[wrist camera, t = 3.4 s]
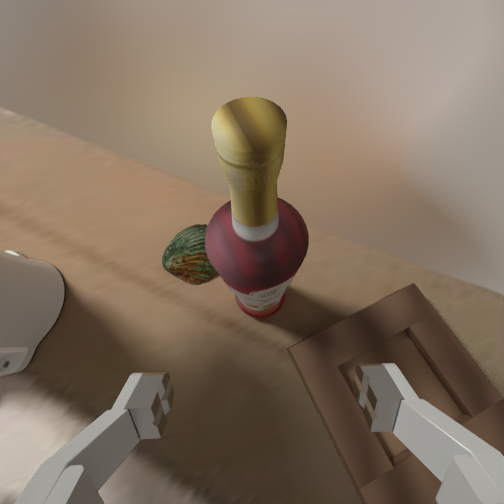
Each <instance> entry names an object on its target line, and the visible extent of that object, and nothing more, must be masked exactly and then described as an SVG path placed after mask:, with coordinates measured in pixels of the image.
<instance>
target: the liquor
mask: <svg viewBox="0 0 504 504" xmlns="http://www.w3.org/2000/svg"><path fill="white" fill-rule="evenodd" d="M211 126H212V133H213V137H214V141H215V146H216V150H217V154H218V159H219V163H220V166H221V169H222V171H223V173H224V175H225V177H226V179H227V181H228V184H229V186H230V191H231V200H230V201H229V202H227V203H226V204H224V205H223V206H222V207H221V208H220V209H219V210H218V211H217V212H216V213H215V214H214V215H213V217H212V218H211V220H210V222H209V224H208V227H207V229H206V235H205V249H206V252H207V256H208V258H209V260H210V262H211V264H212V266H213V267H214V268H215V270H216V271H217V272H218V273H219V275H220V276H221V277H222V279H223V280H224V282H225V283H226V284H227V285H228V287H229V288H230V289H231V290H232V291H233V292H234V293H235V298H236V301H237V304H238V305H239V307H240V308H241V310H242V311H244V312H245V313H246V314H248V315H250V316H252V317H257V318H263V317H268V316H270V315H272V314H274V313H275V312H276V311H278V310H279V308H280V307H281V305H282V303H283V301H284V297H285V290H286V288H287V287H288V286H289V284H290V283H291V281H292V280H293V278H294V276H295V274H296V272H297V271H298V269H299V267H300V266H301V264H302V262H303V260H304V258H305V256H306V253H307V249H308V242H309V235H308V231H307V226H306V224H305V222H304V220H303V218H302V216H301V215H300V214H299V212H298V211H297V210H296V209H295V208H294V207H292V205H291V204H289V203H287V202H286V201H284V200H282V199H280V198H278V197H277V178H278V175H279V172H280V169H281V166H282V163H283V157H284V147H285V138H286V128H287V120H286V115H285V113H284V112H283V110H282V109H281V108H280V107H279V106H278V105H276V104H275V103H274V102H271V101H270V100H267V99H264V98H258V97H245V98H239V99H235V100H233V101H230V102H228V103H227V104H225V105H223V106H222V107H221V108H220V109H219V110H218V111H217V112H216V114H215V115H214V117H213V119H212V124H211Z"/></svg>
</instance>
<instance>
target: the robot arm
mask: <svg viewBox="0 0 504 504" xmlns="http://www.w3.org/2000/svg"><path fill="white" fill-rule="evenodd" d="M63 301H64V283H63V279H62V277H61V275H60V273H59V272H58V270H57V269H56V268H55V267H53V266H52V265H51V264H49V263H47V262H44V261H39V260H33V259H28V258H26V257H25V256H24V255H22V254H21V253H19V252H15V251H12V250H8V251H5V252H3V251H0V377H2V376H6V375H9V374H13V373H17V372H20V371H22V370H24V369H25V368H26V367H27V365H28V364H29V362H30V360H31V358H32V356H33V354H34V352H35V349H36V347H37V345H38V344H39V342H40V341H41V340H42V339H43V337H44V336H45V335H46V334H47V333H48V332H49V330H50V329H51V328H52V326H53V325H54V323H55V321H56V320H57V318H58V316H59V313H60V311H61V308H62V305H63ZM8 364H9V366H8ZM355 371H356V374H357V377H356V378H354V392H355V395H356V398H357V401H358V403H359V404H360V405H361V406H362V407H363V408H364V413H363V415H364V417H365V420H366V422H367V424H368V427H369V429H370V431H371V432H393V434H394V435H395V436H396V437H397V438H398V439H399V440H400V441H401V442H402V443H403V444H404V445H405V446H406V447H407V448H408V449H409V450H410V451H411V452H412V453H413V454H414V455H415V456H416V457H417V458H418V459H419V460H420V461H421V462H422V463H423V464H424V465H425V466H426V467H427V468H428V469H429V470H430V471H431V472H432V473H433V474H434V475H435V476H436V477H437V478H438V479H439V480H440V481H441V482H442V484H441V486H440V488H439V491H438V493H437V495H436V498H435V499H436V501H437V503H438V504H504V456H503V455H502V454H501V452H499V451H498V450H496V449H495V448H493V447H492V446H491V445H489V444H488V443H486V442H485V441H483V440H482V439H480V438H479V437H478V436H476V435H475V434H473V433H472V432H470V431H469V430H467V429H466V428H465V427H463V426H462V425H460V424H459V423H457V422H456V421H454V420H453V419H452V418H450V417H449V416H447V415H446V414H444V413H443V412H441V411H440V410H439V409H437V408H436V407H434V406H433V405H431V404H430V403H428V402H427V401H425V400H424V399H419V397H418V396H417V394H416V393H415V392H414V390H413V389H412V387H411V386H410V384H409V383H408V381H407V380H406V378H405V377H404V375H403V374H402V373H401V371H400V370H399V368H398V367H397V365H396V364H394V363H385V364H361V365H357V366H356V370H355ZM169 380H170V376H169V373H167V372H157V373H133V374H131V375H130V376H129V378H128V380H127V382H126V384H125V385H124V387H123V389H122V391H121V393H120V394H119V396H118V398H117V400H116V402H115V403H114V405H113V407H112V409H111V410H107V411H106V412H104V413H103V414H102V415H101V416H100V417H98V418H97V419H96V420H95V421H93V422H92V423H91V424H90V425H89V426H87V427H86V428H85V429H84V430H83V431H81V432H80V433H79V434H78V435H77V436H75V437H74V438H73V439H72V440H70V441H69V442H68V443H67V444H66V445H64V446H63V447H62V448H61V449H60V450H58V451H57V452H56V453H55V454H53V455H52V456H51V457H50V458H49V459H47V460H46V461H45V462H44V463H43V464H41V466H40V467H39V469H38V470H37V471H36V473H35V474H34V476H33V477H32V479H31V480H30V482H29V483H28V485H27V486H26V488H25V489H24V491H23V492H22V493H21V495H20V496H19V498H18V499H17V501H16V502H15V504H104V502H103V500H102V498H101V497H100V495H99V493H98V490H99V489H100V488H101V487H102V486H103V484H104V483H105V482H106V481H107V480H108V478H109V477H110V476H111V475H112V474H113V472H114V471H115V470H116V469H117V468H118V466H119V465H120V464H121V463H122V462H123V461H124V459H125V458H126V457H127V456H128V455H129V453H130V452H131V451H132V450H133V449H134V447H135V446H136V445H137V444H138V443H139V441H140V439H156V438H161V436H162V433H163V430H164V427H165V424H166V417H165V414H166V413H167V412H168V411H169V410H170V408H171V405H172V401H173V387H172V385H171V384H170V383H169Z"/></svg>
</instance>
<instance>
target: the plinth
mask: <svg viewBox="0 0 504 504" xmlns="http://www.w3.org/2000/svg"><path fill="white" fill-rule="evenodd" d="M287 350H288V352H289V354H290V356H291V358H292V360H293V362H294V364H295V366H296V368H297V371H298V373H299V375H300V377H301V379H302V381H303V383H304V385H305V387H306V389H307V391H308V393H309V395H310V397H311V399H312V401H313V403H314V405H315V407H316V409H317V411H318V413H319V415H320V417H321V419H322V421H323V423H324V425H325V427H326V429H327V431H328V434H329V436H330V438H331V440H332V442H333V444H334V446H335V448H336V450H337V452H338V454H339V456H340V458H341V460H342V462H343V464H344V466H345V468H346V470H347V472H348V474H349V476H350V478H351V480H352V482H353V484H354V486H355V488H356V490H357V492H358V494H359V497H360V499H361V501H362V503H363V504H438V503H437V501H436V499H435V498H436V495H437V493H438V491H439V488H440V486H441V484H442V482H441V481H440V480H439V479H438V478H437V477H436V476H435V475H434V474H433V473H432V472H431V471H430V470H429V469H428V468H427V467H426V466H425V465H424V464H423V463H422V462H421V461H420V460H419V459H418V458H417V457H416V456H415V455H414V454H413V453H412V452H411V451H410V450H409V449H408V448H407V447H406V446H405V445H404V444H403V443H402V442H401V441H400V440H399V439H398V438H397V437H396V436H395V435H394V434H393V432H371V431H370V429H369V427H368V424H367V422H366V420H365V417H364V415H363V413H364V408H363V407H362V406H361V405H360V404H359V403H358V401H357V398H356V395H355V392H354V378H356V377H357V374H356V371H355V370H356V366H357V365H361V364H385V363H394V364H396V365H397V367H398V368H399V370H400V371H401V373H402V374H403V375H404V377H405V378H406V380H407V381H408V383H409V384H410V386H411V387H412V389H413V390H414V392H415V393H416V394H417V396H418V397H419V399H424V400H425V401H427V402H428V403H430V404H431V405H433V406H434V407H436V408H437V409H439V410H440V411H441V412H443V413H444V414H446V415H447V416H449V417H450V418H452V419H453V420H454V421H456V422H457V423H459V424H460V425H462V426H463V427H465V428H466V429H467V430H469V431H470V432H472V433H473V434H475V435H476V436H478V437H479V438H480V439H482V440H483V441H485V442H486V443H488V444H489V445H491V446H492V447H493V448H495V449H496V450H498V451H499V452H501V454H502V455H503V456H504V399H503V398H502V397H501V396H500V394H499V393H498V392H497V390H496V389H495V388H494V386H493V385H492V384H491V383H490V381H489V380H488V379H487V377H486V376H485V375H484V373H483V372H482V371H481V370H480V368H479V367H478V366H477V364H476V363H475V362H474V360H473V359H472V358H471V356H470V355H469V354H468V353H467V351H466V350H465V349H464V347H463V346H462V345H461V343H460V342H459V341H458V340H457V338H456V337H455V336H454V334H453V333H452V332H451V330H450V329H449V328H448V327H447V325H446V324H445V323H444V321H443V320H442V319H441V317H440V316H439V315H438V313H437V312H436V311H435V310H434V308H433V307H432V306H431V304H430V303H429V302H428V300H427V299H426V298H425V297H424V295H423V294H422V293H421V291H420V290H419V289H418V287H417V286H416V285H415V284H414V283H413V284H411V285H409V286H407V287H404V288H402V289H400V290H398V291H396V292H394V293H392V294H390V295H388V296H386V297H385V298H383V299H381V300H379V301H377V302H375V303H373V304H371V305H369V306H367V307H365V308H363V309H362V310H360V311H358V312H356V313H354V314H352V315H350V316H348V317H346V318H344V319H342V320H340V321H339V322H337V323H335V324H333V325H331V326H329V327H327V328H325V329H323V330H321V331H319V332H317V333H315V334H314V335H312V336H310V337H308V338H306V339H304V340H302V341H300V342H298V343H296V344H294V345H292V346H291V347H289V348H287Z"/></svg>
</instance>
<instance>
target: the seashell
mask: <svg viewBox="0 0 504 504" xmlns="http://www.w3.org/2000/svg"><path fill="white" fill-rule="evenodd" d="M207 227H208V226H207V225H206V224H204V225H200V224H198V225H194V226H190V227H188V228H186V229H185V230H183V231H181V232H180V233H179V234H177V235H176V236H175V238H174V239H173V240H172V241H171V242H170V243H169V244H168V246H167V248H166V250H165V252H164V254H163V257H162V263H163V267H164V269H165V270H166V271H168V272H170V273H174V274H178V277H179V278H180V279H182V280H183V281H185V282H188V283H190V284H201V283H203V282H207V281H209V279H210V278H214V275H215V274H219V273H218V272H217V271H216V270H215V268H214V267H213V266H212V264H211V262H210V260H209V258H208V256H207V252H206V249H205V235H206V229H207Z"/></svg>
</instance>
